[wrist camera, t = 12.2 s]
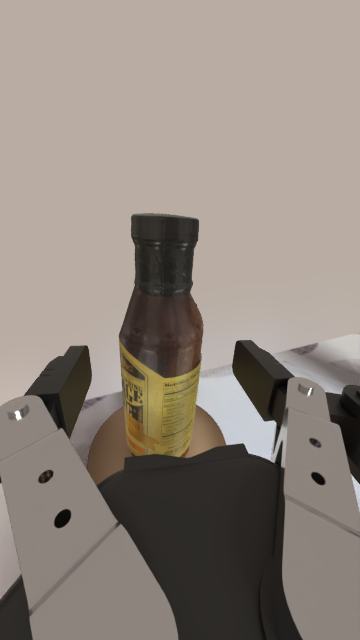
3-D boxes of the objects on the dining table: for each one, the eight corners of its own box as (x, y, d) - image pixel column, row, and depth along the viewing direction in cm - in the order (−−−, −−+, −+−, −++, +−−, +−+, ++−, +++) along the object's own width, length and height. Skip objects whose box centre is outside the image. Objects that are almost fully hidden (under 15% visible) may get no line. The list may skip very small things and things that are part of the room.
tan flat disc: (204, 409, 28) (205, 392, 27) (247, 535, 16) (253, 513, 15) (104, 419, 26) (102, 400, 25) (71, 571, 14) (64, 547, 13)
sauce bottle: (126, 422, 22) (112, 216, 15) (182, 413, 24) (194, 222, 16) (127, 490, 16) (104, 204, 9) (201, 471, 18) (234, 214, 10)
